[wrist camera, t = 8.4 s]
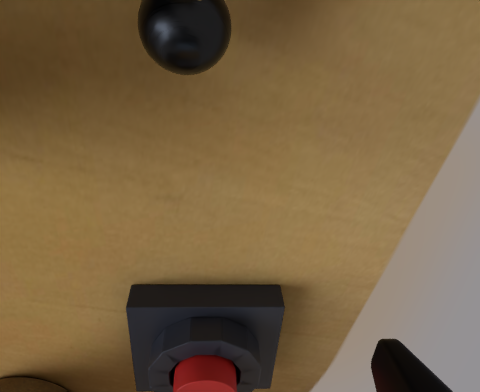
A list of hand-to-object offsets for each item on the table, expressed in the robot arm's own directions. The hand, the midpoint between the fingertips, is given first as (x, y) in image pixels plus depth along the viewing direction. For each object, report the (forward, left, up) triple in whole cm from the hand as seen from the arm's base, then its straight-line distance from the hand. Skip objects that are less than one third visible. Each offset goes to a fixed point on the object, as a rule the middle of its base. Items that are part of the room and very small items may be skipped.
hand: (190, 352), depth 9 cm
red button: (0, -13, -8) cm, 15 cm away
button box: (0, -13, -11) cm, 17 cm away
